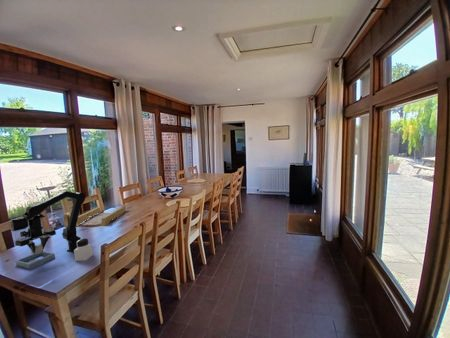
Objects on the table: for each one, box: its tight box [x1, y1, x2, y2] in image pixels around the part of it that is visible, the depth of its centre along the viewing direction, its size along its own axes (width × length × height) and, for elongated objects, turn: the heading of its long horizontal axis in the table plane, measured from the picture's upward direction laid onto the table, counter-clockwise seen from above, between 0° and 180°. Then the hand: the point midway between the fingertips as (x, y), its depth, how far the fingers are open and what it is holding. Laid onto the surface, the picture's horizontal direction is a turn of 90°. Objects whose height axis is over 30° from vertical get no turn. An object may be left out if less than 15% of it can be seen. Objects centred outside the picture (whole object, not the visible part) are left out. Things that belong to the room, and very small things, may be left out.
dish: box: [15, 250, 56, 270], centre depth 138 cm, size 14×14×3 cm
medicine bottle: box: [73, 238, 94, 262], centre depth 140 cm, size 7×7×12 cm
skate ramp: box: [62, 204, 127, 228], centre depth 212 cm, size 40×35×16 cm
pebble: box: [34, 243, 44, 254], centre depth 135 cm, size 4×4×4 cm
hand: (38, 251), depth 135 cm, fingers closed on pebble, 4 cm apart
